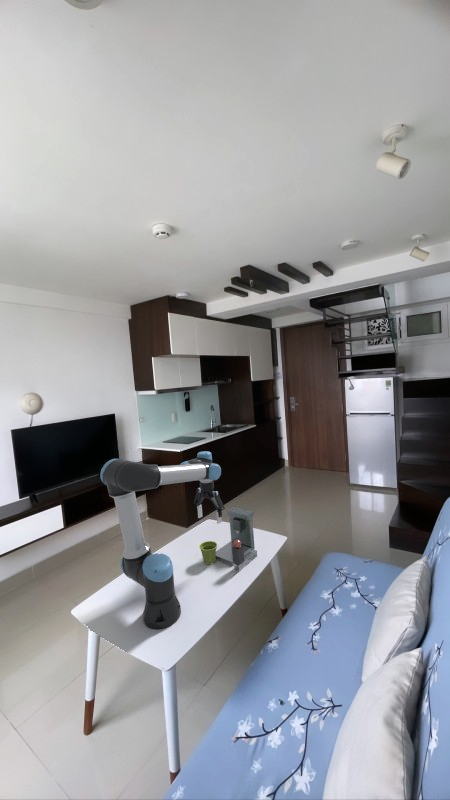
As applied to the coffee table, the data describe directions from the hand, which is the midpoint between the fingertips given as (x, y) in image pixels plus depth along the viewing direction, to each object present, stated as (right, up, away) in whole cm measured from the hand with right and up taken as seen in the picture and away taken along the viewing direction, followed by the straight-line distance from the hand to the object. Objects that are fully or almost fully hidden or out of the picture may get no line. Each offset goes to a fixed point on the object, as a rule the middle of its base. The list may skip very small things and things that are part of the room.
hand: (209, 519), depth 171 cm
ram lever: (+15, -17, -11) cm, 25 cm away
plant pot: (0, -21, -3) cm, 21 cm away
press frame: (+15, -19, +1) cm, 24 cm away
